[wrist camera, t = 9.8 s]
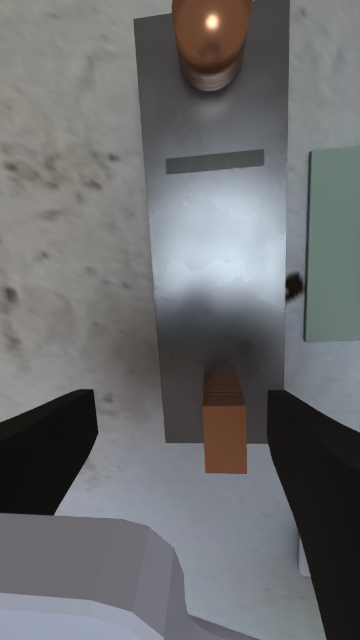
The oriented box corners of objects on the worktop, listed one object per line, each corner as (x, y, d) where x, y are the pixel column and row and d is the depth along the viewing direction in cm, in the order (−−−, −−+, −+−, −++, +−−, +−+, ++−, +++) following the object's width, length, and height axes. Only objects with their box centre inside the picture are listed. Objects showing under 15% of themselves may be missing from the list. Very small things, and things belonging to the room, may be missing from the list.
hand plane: (268, 64, 17) (317, -96, 9) (267, 405, 21) (299, 485, 14) (152, 79, 17) (109, -57, 10) (174, 406, 22) (156, 482, 14)
